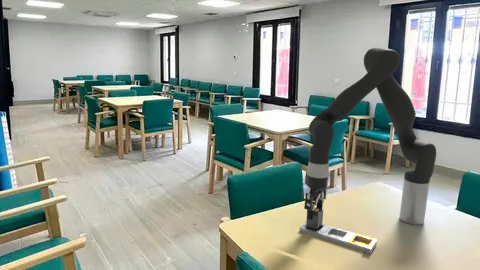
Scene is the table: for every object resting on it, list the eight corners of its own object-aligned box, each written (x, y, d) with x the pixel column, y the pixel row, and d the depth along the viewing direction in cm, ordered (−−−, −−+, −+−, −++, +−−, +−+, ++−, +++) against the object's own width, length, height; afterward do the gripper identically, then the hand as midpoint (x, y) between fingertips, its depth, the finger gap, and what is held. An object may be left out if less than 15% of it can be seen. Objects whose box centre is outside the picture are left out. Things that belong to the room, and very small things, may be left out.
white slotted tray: (308, 224, 143) (308, 219, 142) (376, 245, 128) (377, 239, 128) (299, 232, 136) (299, 227, 136) (369, 254, 122) (370, 248, 121)
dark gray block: (310, 226, 140) (312, 205, 138) (321, 229, 138) (323, 208, 136) (305, 230, 137) (307, 209, 135) (317, 234, 134) (318, 212, 132)
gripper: (319, 181, 124) (316, 224, 128) (334, 171, 136) (331, 211, 139) (299, 176, 129) (296, 219, 132) (315, 167, 140) (313, 206, 143)
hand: (314, 215), depth 136 cm, fingers open, 8 cm apart
